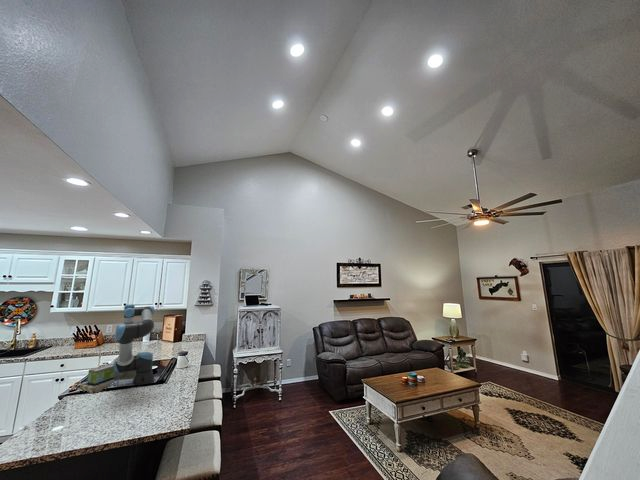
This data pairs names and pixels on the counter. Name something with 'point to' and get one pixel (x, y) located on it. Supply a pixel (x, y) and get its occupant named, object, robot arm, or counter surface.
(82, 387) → the bay
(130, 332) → the robot arm
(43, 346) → the counter surface
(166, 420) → the counter surface
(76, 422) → the counter surface
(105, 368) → the tea box
